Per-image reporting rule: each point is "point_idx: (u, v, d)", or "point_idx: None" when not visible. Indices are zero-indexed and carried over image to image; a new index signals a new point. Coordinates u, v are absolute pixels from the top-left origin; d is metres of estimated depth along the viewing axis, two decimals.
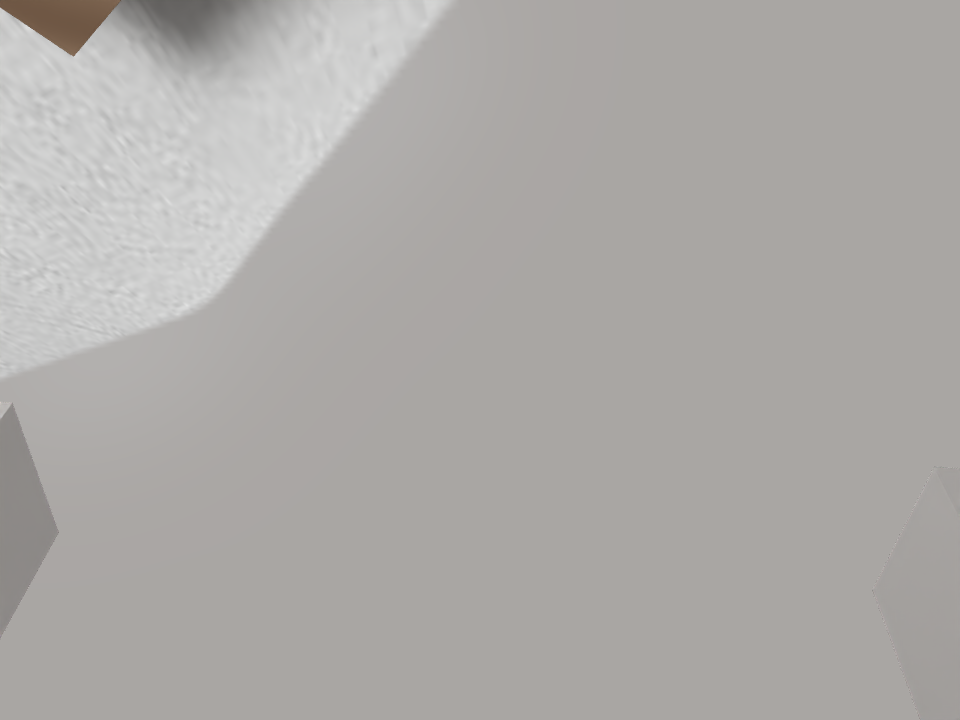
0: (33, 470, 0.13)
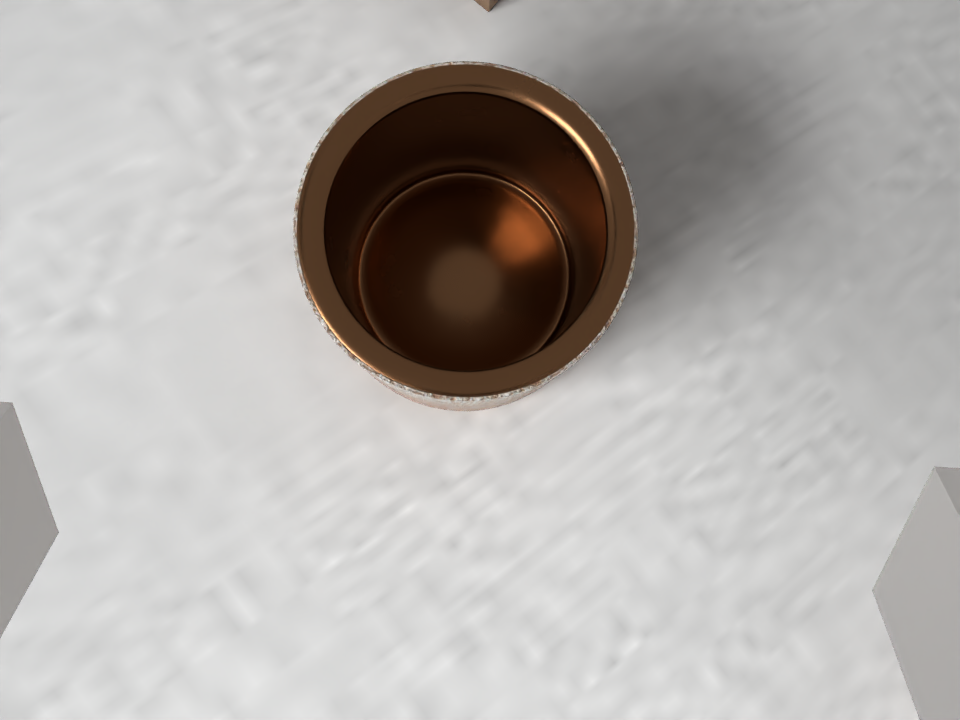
0: (33, 470, 0.13)
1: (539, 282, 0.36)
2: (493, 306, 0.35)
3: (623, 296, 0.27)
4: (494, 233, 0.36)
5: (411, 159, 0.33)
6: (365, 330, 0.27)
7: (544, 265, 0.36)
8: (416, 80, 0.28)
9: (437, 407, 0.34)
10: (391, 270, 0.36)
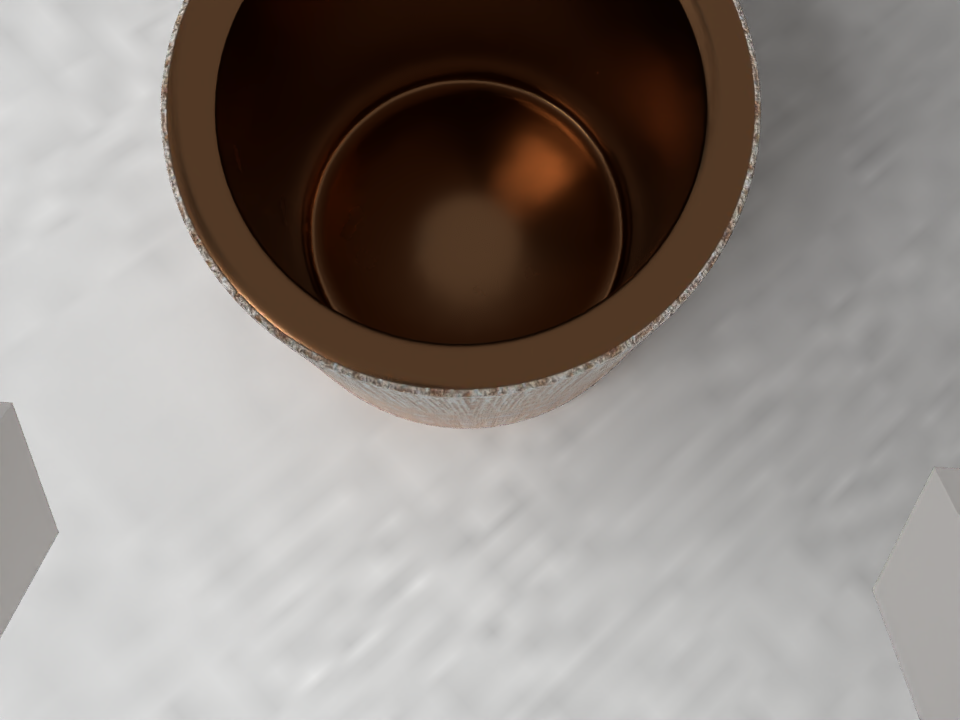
0: (33, 470, 0.13)
1: (579, 225, 0.24)
2: (515, 266, 0.23)
3: (747, 185, 0.16)
4: (505, 159, 0.24)
5: (368, 49, 0.22)
6: (301, 290, 0.15)
7: (584, 200, 0.24)
8: None
9: (446, 425, 0.22)
10: (358, 229, 0.24)
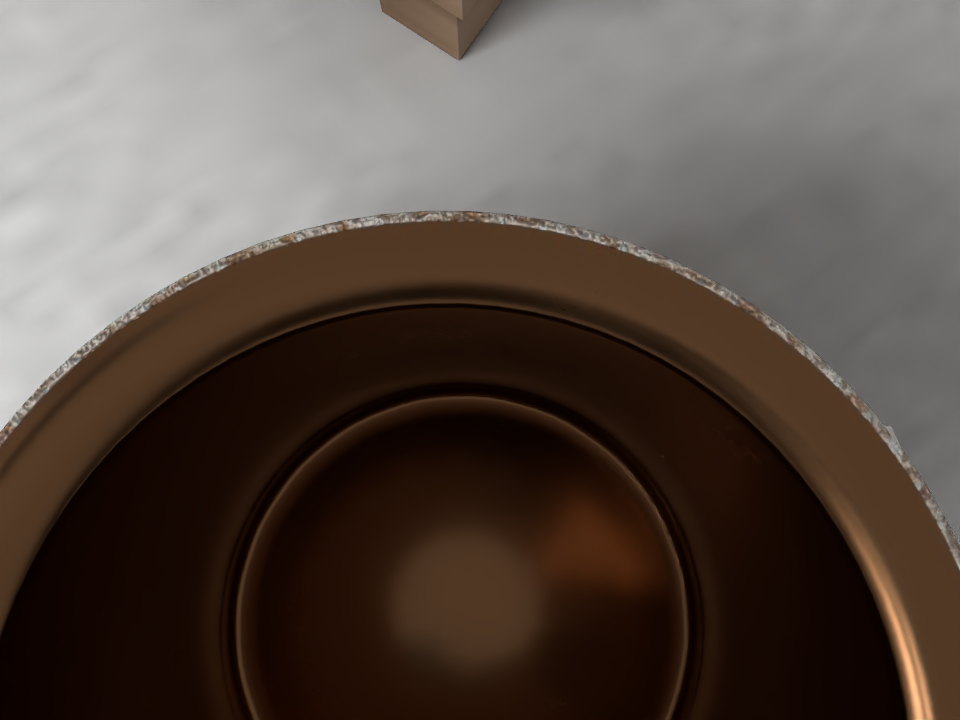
0: None
1: (626, 623, 0.16)
2: (532, 695, 0.16)
3: None
4: (519, 527, 0.16)
5: (310, 411, 0.14)
6: None
7: (633, 583, 0.17)
8: (240, 291, 0.09)
9: None
10: (302, 629, 0.16)
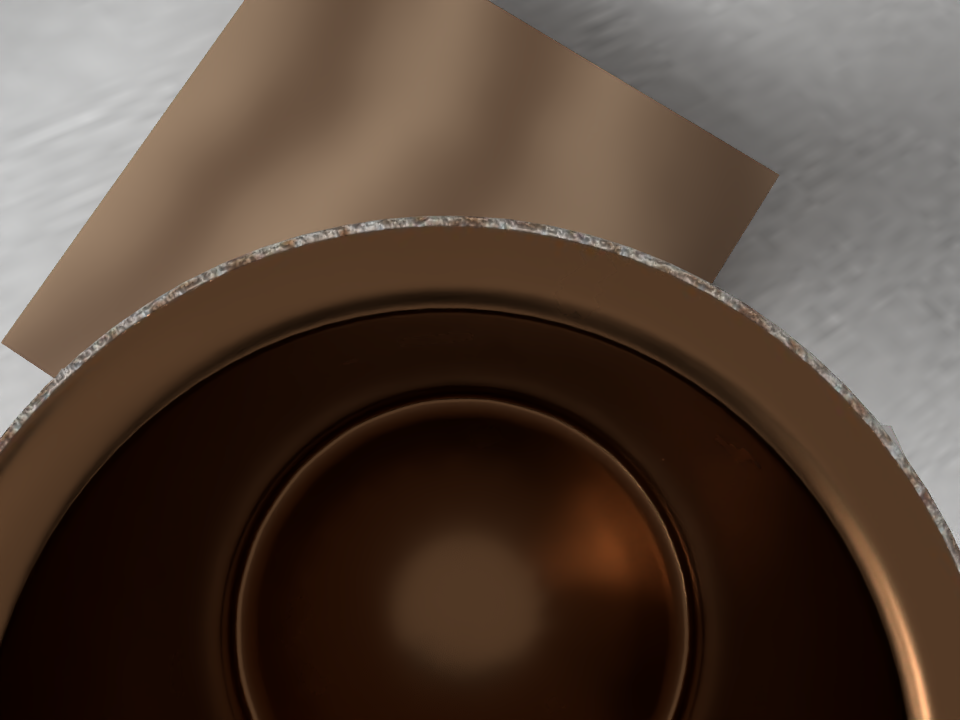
0: None
1: (627, 626, 0.16)
2: (533, 698, 0.16)
3: None
4: (519, 530, 0.16)
5: (312, 415, 0.14)
6: None
7: (634, 586, 0.17)
8: (241, 296, 0.09)
9: None
10: (303, 632, 0.16)
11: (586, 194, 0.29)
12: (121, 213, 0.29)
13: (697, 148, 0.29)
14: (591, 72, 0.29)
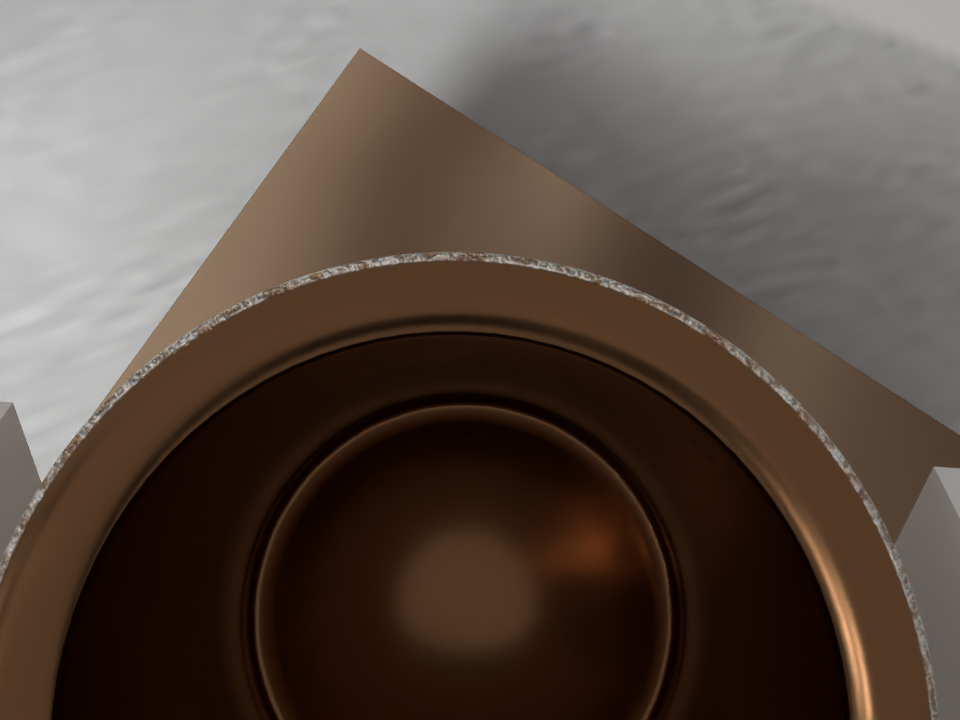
0: (34, 470, 0.13)
1: (614, 614, 0.18)
2: (528, 680, 0.17)
3: None
4: (515, 526, 0.18)
5: (326, 421, 0.16)
6: None
7: (621, 577, 0.18)
8: (275, 321, 0.10)
9: None
10: (317, 621, 0.18)
11: None
12: None
13: (916, 442, 0.20)
14: (759, 320, 0.20)
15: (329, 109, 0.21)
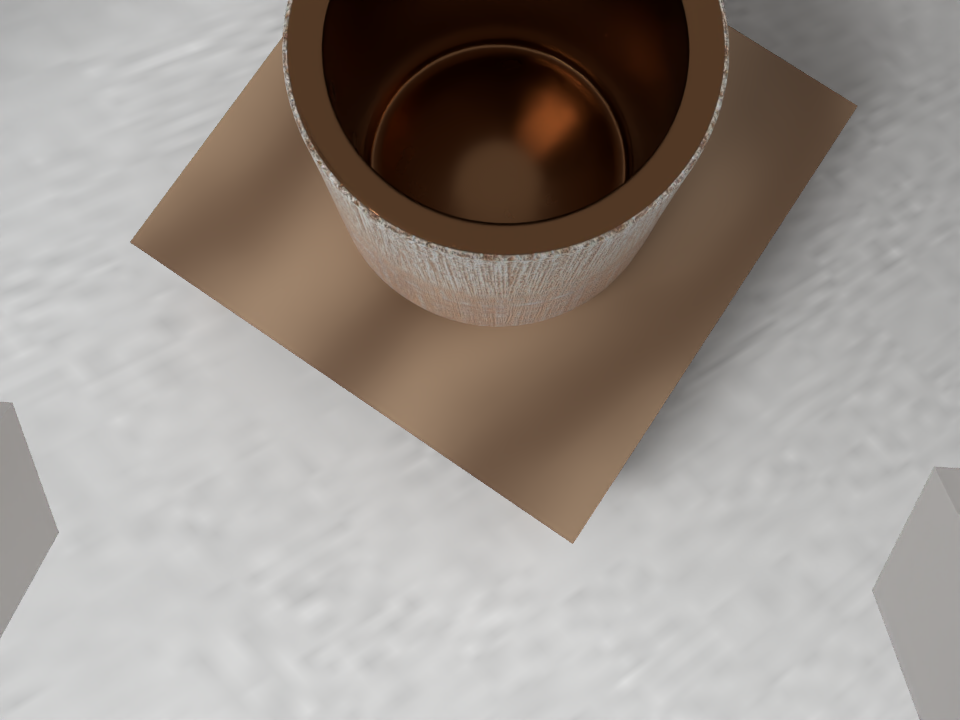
0: (33, 470, 0.13)
1: (590, 162, 0.29)
2: (538, 194, 0.29)
3: (718, 107, 0.21)
4: (530, 108, 0.29)
5: (422, 16, 0.27)
6: (388, 183, 0.21)
7: (594, 142, 0.30)
8: None
9: (482, 319, 0.28)
10: (409, 165, 0.29)
11: None
12: (243, 125, 0.31)
13: (781, 79, 0.31)
14: None
15: None
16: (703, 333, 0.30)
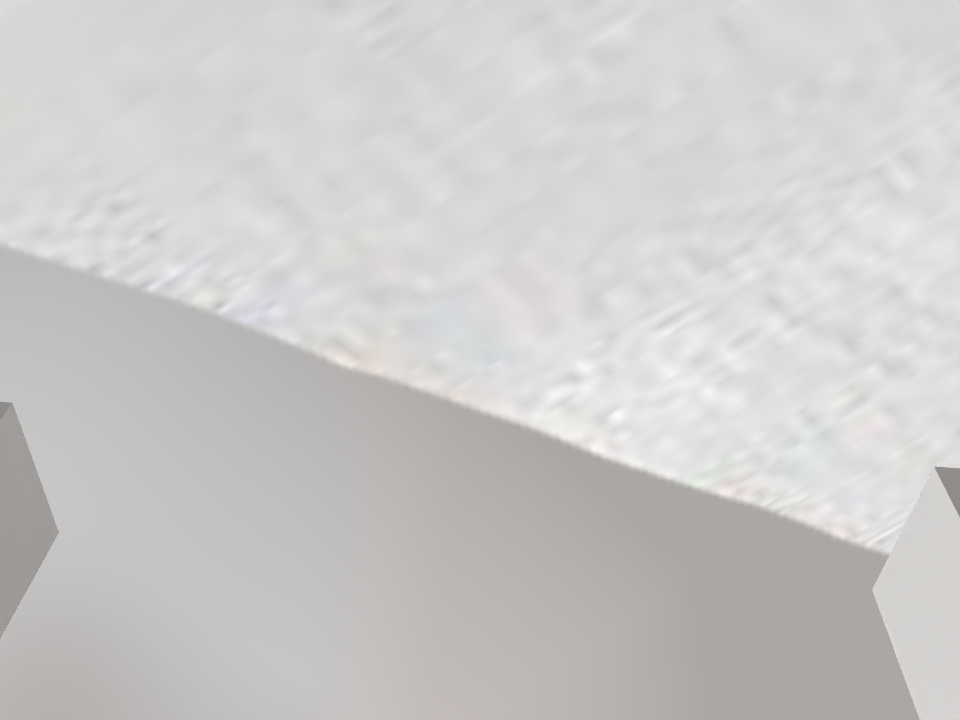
0: (33, 470, 0.13)
1: None
2: None
3: None
4: None
5: None
6: None
7: None
8: None
9: None
10: None
11: None
12: None
13: None
14: None
15: None
16: None
